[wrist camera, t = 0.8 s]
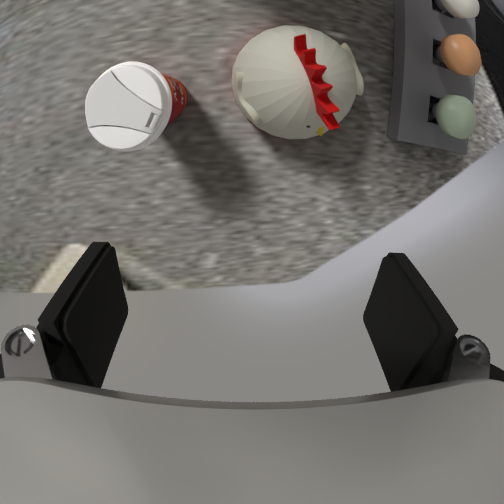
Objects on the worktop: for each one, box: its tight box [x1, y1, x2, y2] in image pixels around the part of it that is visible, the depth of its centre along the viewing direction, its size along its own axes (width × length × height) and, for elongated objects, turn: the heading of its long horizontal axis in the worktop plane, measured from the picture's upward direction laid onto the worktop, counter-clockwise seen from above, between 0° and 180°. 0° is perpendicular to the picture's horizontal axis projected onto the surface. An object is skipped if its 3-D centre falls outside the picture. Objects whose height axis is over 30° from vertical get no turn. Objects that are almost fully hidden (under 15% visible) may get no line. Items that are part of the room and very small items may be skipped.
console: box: [387, 0, 476, 155], centre depth 26 cm, size 26×12×3 cm, turn 179°
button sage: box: [432, 94, 477, 139], centre depth 27 cm, size 5×5×5 cm
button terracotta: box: [436, 34, 481, 76], centre depth 23 cm, size 5×5×5 cm
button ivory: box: [435, 0, 479, 19], centre depth 19 cm, size 5×5×5 cm
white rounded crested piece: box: [232, 25, 364, 139], centre depth 24 cm, size 14×14×15 cm
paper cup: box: [85, 62, 187, 151], centre depth 25 cm, size 8×8×14 cm
